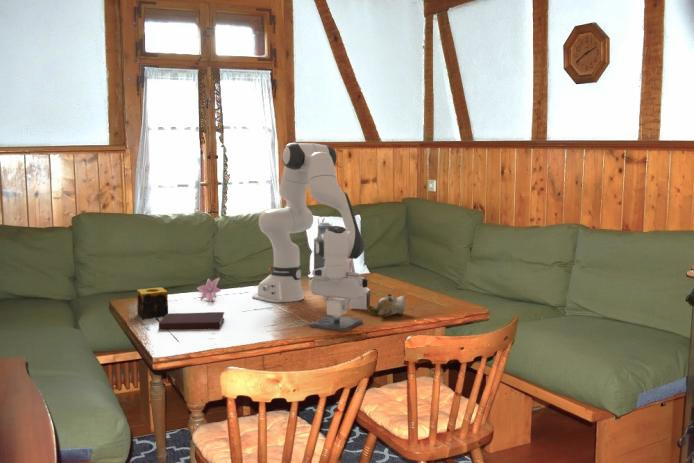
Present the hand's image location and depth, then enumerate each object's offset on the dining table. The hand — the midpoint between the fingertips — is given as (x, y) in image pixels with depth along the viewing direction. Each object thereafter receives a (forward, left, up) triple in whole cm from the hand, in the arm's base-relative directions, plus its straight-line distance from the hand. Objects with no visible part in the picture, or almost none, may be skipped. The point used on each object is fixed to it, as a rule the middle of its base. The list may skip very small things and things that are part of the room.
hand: (337, 308), depth 253 cm
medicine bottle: (-5, +28, -6) cm, 29 cm away
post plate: (0, 0, -6) cm, 6 cm away
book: (-47, -25, -7) cm, 54 cm away
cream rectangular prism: (0, 0, -2) cm, 2 cm away
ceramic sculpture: (+11, +21, -6) cm, 25 cm away
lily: (-69, +12, -6) cm, 70 cm away
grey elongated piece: (-38, +56, -6) cm, 68 cm away
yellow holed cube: (-70, -21, -6) cm, 74 cm away
